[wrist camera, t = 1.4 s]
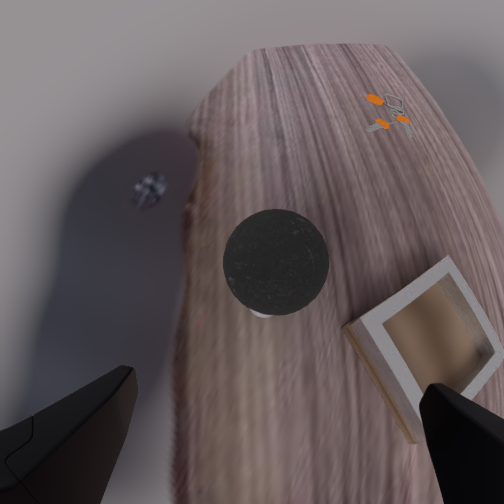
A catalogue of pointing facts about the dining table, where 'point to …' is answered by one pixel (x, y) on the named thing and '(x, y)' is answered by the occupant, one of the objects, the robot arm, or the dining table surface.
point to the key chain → (399, 118)
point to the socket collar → (393, 363)
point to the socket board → (423, 346)
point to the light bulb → (275, 262)
